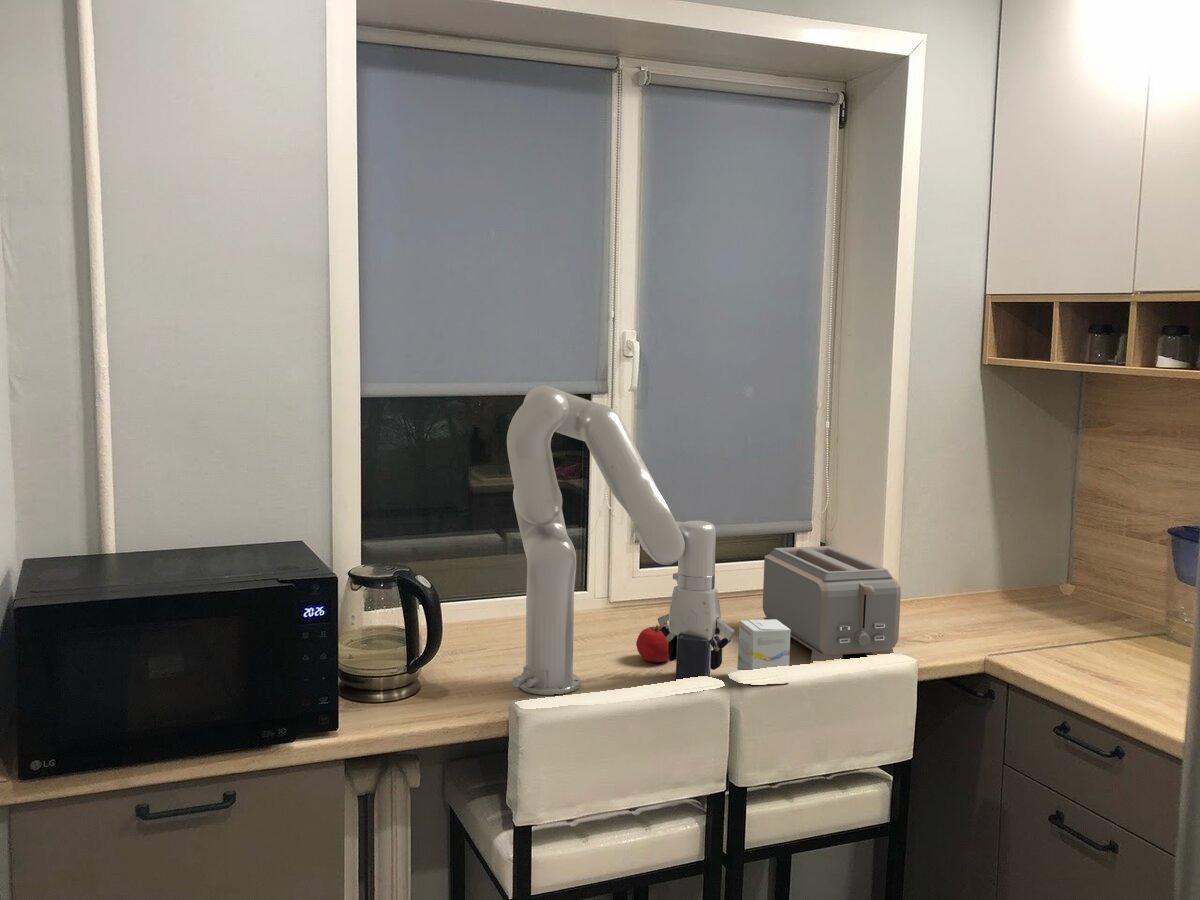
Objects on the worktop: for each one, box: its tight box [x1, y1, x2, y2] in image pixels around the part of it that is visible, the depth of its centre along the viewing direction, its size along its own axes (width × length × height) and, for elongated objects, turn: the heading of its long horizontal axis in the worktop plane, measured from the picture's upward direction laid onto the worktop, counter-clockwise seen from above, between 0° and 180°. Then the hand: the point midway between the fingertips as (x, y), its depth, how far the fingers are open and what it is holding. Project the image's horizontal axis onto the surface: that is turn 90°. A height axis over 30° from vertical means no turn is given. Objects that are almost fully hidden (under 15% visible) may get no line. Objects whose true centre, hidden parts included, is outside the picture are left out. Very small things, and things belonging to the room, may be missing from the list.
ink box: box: [736, 619, 791, 670], centre depth 210 cm, size 9×9×12 cm
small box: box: [674, 633, 713, 680], centre depth 208 cm, size 11×6×10 cm, turn 168°
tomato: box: [635, 624, 669, 663], centre depth 221 cm, size 9×9×8 cm
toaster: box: [762, 545, 902, 663], centre depth 234 cm, size 19×35×20 cm, turn 16°
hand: (694, 663), depth 208 cm, fingers open, 9 cm apart
